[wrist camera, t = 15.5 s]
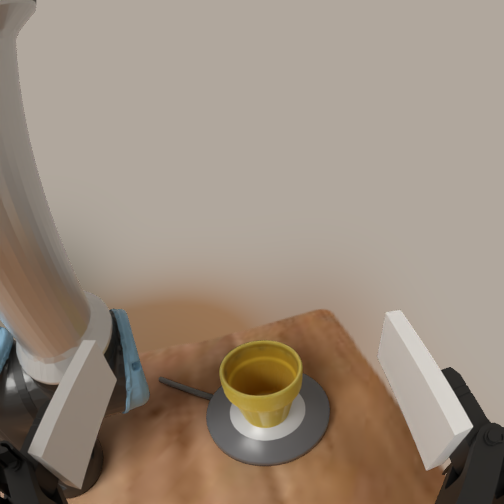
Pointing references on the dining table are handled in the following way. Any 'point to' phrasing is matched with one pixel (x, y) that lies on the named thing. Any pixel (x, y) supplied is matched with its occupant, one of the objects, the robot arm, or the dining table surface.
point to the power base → (266, 439)
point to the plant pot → (262, 381)
